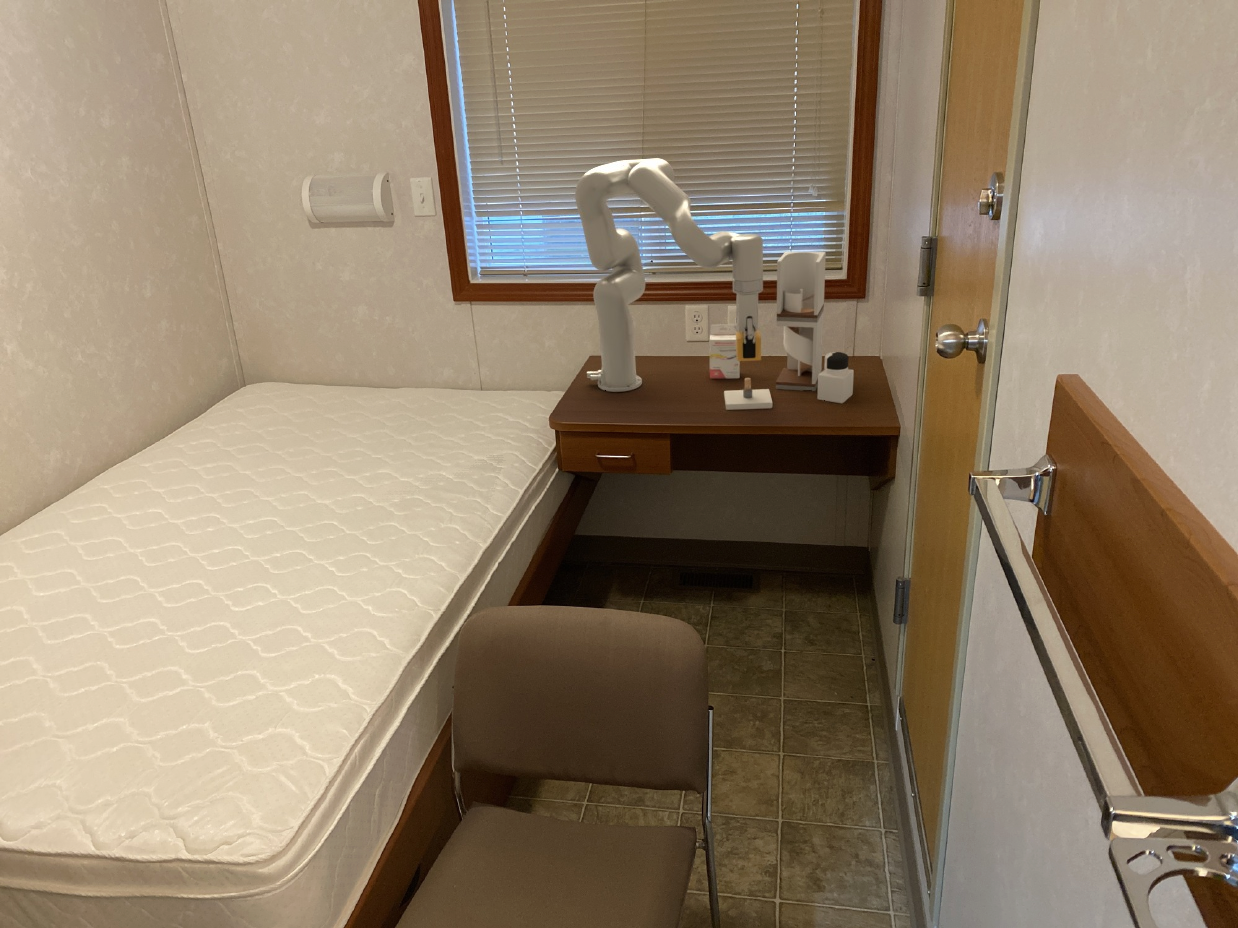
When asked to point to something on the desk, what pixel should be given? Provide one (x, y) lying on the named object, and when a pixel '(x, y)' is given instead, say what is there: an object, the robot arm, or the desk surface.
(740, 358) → the orange cube block
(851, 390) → the medicine bottle
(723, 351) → the ink cartridge box
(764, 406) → the mount plate
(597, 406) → the desk surface
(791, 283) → the spiral ramp tower
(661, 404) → the desk surface
